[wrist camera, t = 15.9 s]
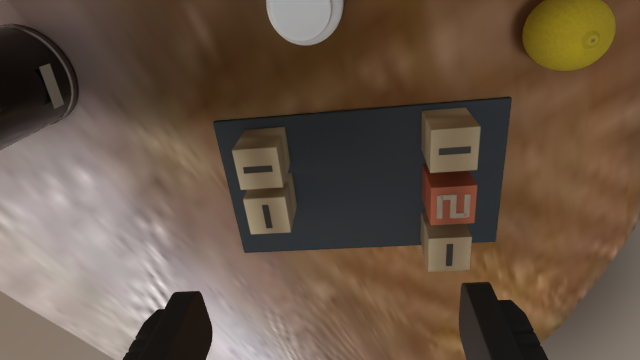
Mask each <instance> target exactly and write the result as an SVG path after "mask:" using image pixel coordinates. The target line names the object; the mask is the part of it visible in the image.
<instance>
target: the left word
mask: <svg viewBox="0 0 640 360" xmlns="http://www.w3.org/2000/svg"><path fill="white" fill-rule="evenodd" d="M232 153H233V158H234V162H235V166H236V171H237V175H238V180H239V184H240V188H241V190H247V189H248V190H247V192H246V194H245V197H244V199H243V202H244V206H245V210H246V215H247V219H248V224H249V228H250V232H251V234H269V233H289V232H291V230H292V225H293V221H294V216H295V212H296V207H297V202H296V196H295V190H294V183H293V177H292V173H288V170H289V166H290V158H289V151H288V145H287V138H286V132H285V127H276V128H264V129H251V130H245V131H244V132H243V134H242V135H241V137H240V139H239V140H238V142H237V143H236V145H235V146H234V148H233V150H232Z"/></svg>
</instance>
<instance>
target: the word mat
mask: <svg viewBox="0 0 640 360" xmlns="http://www.w3.org/2000/svg"><path fill="white" fill-rule="evenodd" d="M511 99H512V98H511V97H504V98H492V99H480V100H468V101H455V102H443V103H431V104H419V105H406V106H394V107H382V108H370V109H358V110H345V111H333V112H321V113H309V114H296V115H284V116H272V117H260V118H248V119H235V120H223V121H214V122H213V124H214V128H215V132H216V136H217V140H218V145H219V149H220V153H221V157H222V161H223V165H224V169H225V174H226V178H227V182H228V186H229V190H230V194H231V198H232V203H233V207H234V211H235V215H236V219H237V223H238V227H239V232H240V236H241V240H242V244H243V248H244V252H245V253H251V252H273V251H296V250H318V249H341V248H363V247H385V246H408V245H421V242H420V229H421V211H426V210H425V206H424V203H423V200H422V164H427V163H426V161H425V158H424V156H423V153H422V150H421V121H422V111H428V110H440V109H453V108H466V109H467V110H468V111H469V113H470V114H471V115H472V116H473V118H474V119H475V120H476V121H477V123H478V124H479V125H480V127H481V130H480V142H479V155H478V167H477V170H469V172H470V173H471V175H472V177H473V179H474V181H475V182H476V184H477V197H476V209H475V222H474V223H467V224H466V225H467V227H468V230H469V232H470V234H471V236H472V242H471V243H475V242H495V240H496V231H497V222H498V213H499V205H500V196H501V187H502V178H503V169H504V161H505V152H506V143H507V134H508V126H509V117H510V108H511ZM276 127H285V132H286V138H287V145H288V151H289V158H290V166H289V170H288V173H292V177H293V183H294V190H295V196H296V202H297V207H296V212H295V216H294V221H293V225H292V230H291V232H289V233H269V234H251V232H250V228H249V224H248V219H247V215H246V210H245V206H244V202H243V199H244V197H245V194H246V192H247V190H248V189H247V190H241V188H240V184H239V180H238V175H237V171H236V166H235V162H234V158H233V153H232V150H233V148H234V146H235V145H236V143H237V142H238V140H239V139H240V137H241V135H242V134H243V132H244V131H245V130H251V129H264V128H276Z"/></svg>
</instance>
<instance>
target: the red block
mask: <svg viewBox="0 0 640 360" xmlns="http://www.w3.org/2000/svg"><path fill="white" fill-rule="evenodd" d="M476 197H477V184H476V182H475V181H474V179H473V177H472V175H471V173H470V172H469V170H468V171H453V172H437V173H430V171H429V169H428V166H427V164H422V200H423V203H424V206H425V210H426V213H427V216H428V220H429V223H430V225H448V224H467V223H474V222H475V209H476Z"/></svg>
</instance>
